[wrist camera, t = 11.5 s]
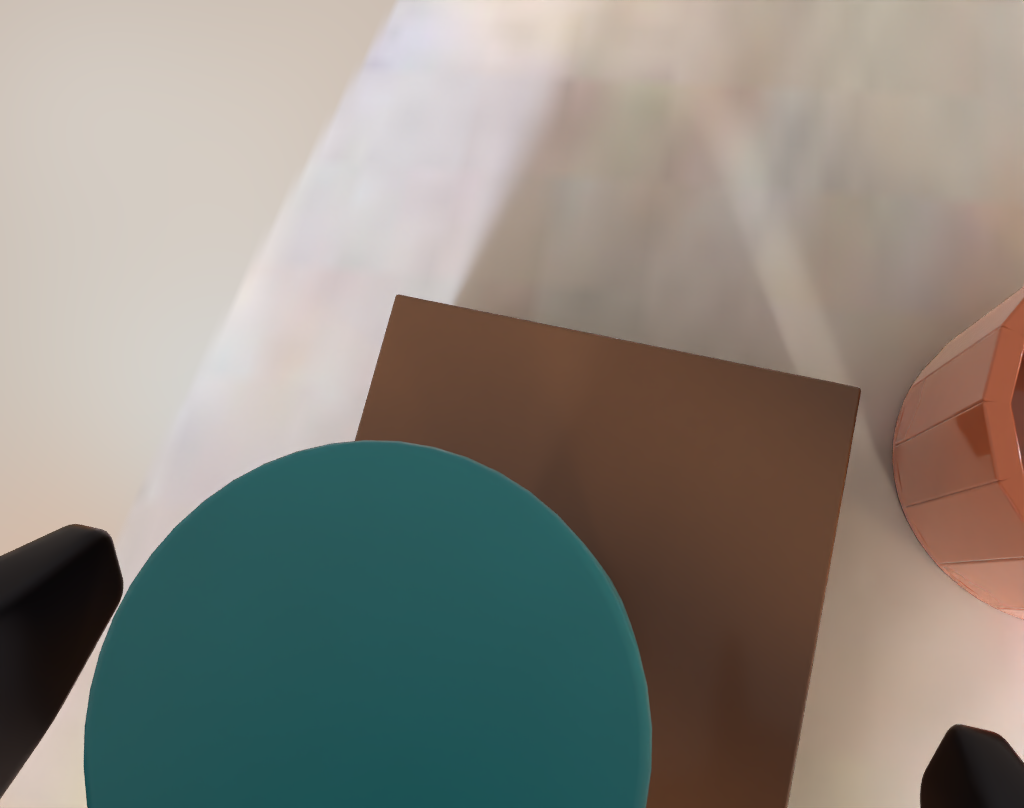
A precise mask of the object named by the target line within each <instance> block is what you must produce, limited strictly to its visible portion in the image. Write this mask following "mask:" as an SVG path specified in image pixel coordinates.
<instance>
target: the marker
mask: <svg viewBox="0 0 1024 808" xmlns="http://www.w3.org/2000/svg"><path fill="white" fill-rule="evenodd" d="M651 762H652V723H651V714H650V705H649V696H648V686H647V682H646V678H645V674H644V670H643V665H642V661H641V657H640V653H639V649H638V645H637V642H636V639H635V635H634V632H633V629H632V626H631V623H630V620H629V618H628V615H627V612H626V610H625V607H624V604H623V602H622V600H621V598H620V596H619V594H618V592H617V590H616V588H615V586H614V584H613V583H612V581H611V579H610V578H609V576H608V575H607V573H606V572H605V570H604V569H603V568H602V566H601V565H600V563H599V562H598V561H597V559H596V558H595V557H594V555H593V554H592V553H591V552H590V550H589V549H588V548H587V547H586V545H585V544H584V543H583V542H582V541H581V540H580V539H579V537H578V536H577V535H576V534H575V533H574V532H573V531H572V530H571V529H570V528H569V527H568V525H567V524H566V523H565V522H564V521H563V520H562V519H561V518H560V517H559V516H558V515H557V514H556V513H555V512H554V511H552V510H551V509H550V508H549V507H548V506H547V505H545V504H544V503H543V502H542V501H541V500H539V499H538V498H537V497H536V496H535V495H533V494H532V493H531V492H530V491H528V490H527V489H525V488H524V487H522V486H520V485H519V484H517V483H516V482H514V481H512V480H511V479H509V478H508V477H506V476H505V475H503V474H501V473H500V472H498V471H496V470H494V469H491V468H489V467H487V466H485V465H483V464H481V463H478V462H476V461H474V460H472V459H470V458H468V457H465V456H461V455H458V454H455V453H452V452H448V451H445V450H442V449H439V448H435V447H431V446H425V445H419V444H413V443H407V442H401V441H374V440H362V441H352V442H342V443H333V444H327V445H323V446H319V447H314V448H310V449H306V450H302V451H298V452H295V453H292V454H289V455H287V456H284V457H281V458H279V459H276V460H274V461H271V462H268V463H266V464H263V465H261V466H260V467H258V468H256V469H254V470H252V471H250V472H248V473H246V474H245V475H243V476H241V477H239V478H237V479H235V480H233V481H232V482H230V483H229V484H228V485H226V486H225V487H223V488H222V489H220V490H219V491H218V492H216V493H215V494H213V495H212V496H210V497H209V498H208V499H206V500H205V501H204V502H202V503H201V504H200V505H199V506H198V507H197V508H196V509H195V510H194V511H192V512H191V513H190V514H189V515H188V516H187V517H186V518H185V519H184V520H182V521H181V522H180V523H179V524H178V525H177V526H176V527H175V528H174V529H173V530H172V531H171V533H170V534H169V535H168V536H167V537H166V538H165V539H164V541H163V542H162V543H161V544H160V545H159V546H158V547H157V549H156V550H155V551H154V552H153V553H152V554H151V556H150V557H149V559H148V560H147V562H146V563H145V565H144V566H143V567H142V569H141V570H140V572H139V573H138V575H137V576H136V578H135V579H134V581H133V582H132V584H131V585H130V587H129V589H128V591H127V593H126V595H125V597H124V598H123V600H122V602H121V604H120V606H119V608H118V610H117V612H116V614H115V616H114V618H113V620H112V623H111V625H110V628H109V630H108V633H107V636H106V638H105V641H104V643H103V646H102V648H101V651H100V654H99V658H98V662H97V665H96V669H95V673H94V677H93V681H92V684H91V688H90V695H89V702H88V708H87V715H86V722H85V737H84V775H85V787H86V798H87V807H88V808H646V804H647V797H648V790H649V783H650V776H651Z"/></svg>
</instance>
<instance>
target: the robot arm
mask: <svg viewBox="0 0 1024 808" xmlns="http://www.w3.org/2000/svg"><path fill="white" fill-rule="evenodd" d="M122 593H123V577H122V574H121V570H120V566H119V562H118V559H117V555H116V551H115V548H114V544H113V540H112V538H111V536H110V535H109V534H108V533H107V532H106V531H104V530H102V529H97V528H93V527H89V526H84V525H78V524H72V525H68V526H65V527H62V528H60V529H58V530H56V531H54V532H52V533H49V534H47V535H45V536H43V537H41V538H39V539H37V540H34V541H32V542H30V543H28V544H26V545H23V546H21V547H19V548H17V549H15V550H13V551H11V552H8V553H6V554H4V555H2V556H0V799H1V797H2V796H3V794H4V793H5V791H6V790H7V789H8V787H9V786H10V784H11V783H12V781H13V780H14V778H15V777H16V775H17V774H18V773H19V771H20V770H21V768H22V767H23V765H24V764H25V762H26V761H27V760H28V758H29V757H30V755H31V754H32V752H33V751H34V749H35V748H36V746H37V745H38V744H39V742H40V741H41V739H42V737H43V736H44V734H45V733H46V731H47V730H48V728H49V727H50V725H51V724H52V722H53V721H54V719H55V717H56V716H57V714H58V712H59V710H60V709H61V707H62V705H63V704H64V702H65V700H66V698H67V697H68V695H69V693H70V691H71V689H72V688H73V686H74V684H75V682H76V680H77V679H78V677H79V675H80V673H81V671H82V670H83V668H84V666H85V664H86V662H87V660H88V659H89V657H90V655H91V653H92V651H93V650H94V648H95V646H96V644H97V642H98V641H99V639H100V637H101V635H102V633H103V632H104V630H105V628H106V626H107V624H108V623H109V621H110V619H111V617H112V615H113V614H114V612H115V610H116V608H117V606H118V604H119V602H120V600H121V597H122ZM920 807H921V808H1024V762H1023V761H1022V760H1021V759H1020V757H1019V756H1018V755H1017V753H1016V752H1015V751H1014V750H1013V748H1012V747H1011V746H1010V744H1009V743H1008V742H1007V741H1006V740H1005V739H1004V738H1003V737H1002V736H1000V735H999V734H997V733H995V732H992V731H988V730H984V729H979V728H975V727H970V726H966V725H962V724H956V725H954V726H952V727H951V728H949V730H948V731H947V732H946V734H945V736H944V738H943V739H942V741H941V743H940V745H939V747H938V748H937V750H936V752H935V754H934V756H933V757H932V759H931V761H930V763H929V765H928V766H927V768H926V770H925V772H924V775H923V778H922V783H921V790H920Z"/></svg>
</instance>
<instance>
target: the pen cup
mask: <svg viewBox="0 0 1024 808" xmlns="http://www.w3.org/2000/svg"><path fill="white" fill-rule="evenodd" d="M892 460H893V471H894V480H895V484H896V489H897V493H898V497H899V500H900V503H901V506H902V508H903V511H904V514H905V516H906V519H907V521H908V523H909V525H910V526H911V528H912V530H913V532H914V534H915V536H916V538H917V539H918V541H919V542H920V543H921V545H922V546H923V548H924V549H925V551H926V552H927V553H928V555H929V556H930V557H931V558H932V559H933V560H934V562H935V563H936V564H937V565H938V566H939V567H940V568H941V569H942V571H943V572H944V573H946V574H947V575H948V576H949V577H950V578H951V579H952V580H953V581H955V582H956V583H957V584H958V585H959V586H960V587H962V588H963V589H965V590H966V591H967V592H969V593H970V594H972V595H973V596H975V597H976V598H978V599H979V600H981V601H983V602H985V603H986V604H988V605H990V606H992V607H994V608H996V609H998V610H1000V611H1002V612H1005V613H1007V614H1010V615H1012V616H1015V617H1017V618H1020V619H1023V620H1024V287H1022V288H1021V289H1020V290H1018V291H1017V292H1016V293H1014V294H1013V295H1012V296H1010V297H1009V298H1007V299H1006V300H1005V301H1003V302H1002V303H1001V304H999V305H998V306H997V307H995V308H994V309H993V310H991V311H990V312H989V313H987V314H986V315H985V316H983V317H982V318H981V319H979V320H978V321H977V322H975V323H974V324H973V325H971V326H970V327H969V328H967V329H966V330H965V331H963V332H962V333H961V334H959V335H958V336H957V337H955V338H954V339H953V340H951V341H950V342H949V343H947V344H946V345H945V347H944V348H943V349H942V350H941V351H940V353H939V354H938V355H936V356H935V357H934V359H933V360H932V361H931V362H930V363H929V364H928V365H927V366H926V367H925V368H924V369H923V370H922V372H921V373H920V374H919V376H918V377H917V379H916V380H915V381H914V383H913V384H912V386H911V388H910V390H909V392H908V394H907V395H906V397H905V399H904V401H903V404H902V407H901V410H900V413H899V415H898V418H897V422H896V428H895V433H894V438H893V456H892Z"/></svg>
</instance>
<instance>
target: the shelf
mask: <svg viewBox="0 0 1024 808" xmlns="http://www.w3.org/2000/svg"><path fill="white" fill-rule="evenodd" d="M860 394H861V389H860V388H858V387H854V386H849V385H844V384H839V383H834V382H829V381H824V380H819V379H815V378H810V377H805V376H800V375H795V374H790V373H785V372H780V371H775V370H770V369H765V368H760V367H755V366H750V365H745V364H740V363H735V362H730V361H725V360H720V359H715V358H711V357H706V356H701V355H696V354H691V353H686V352H681V351H676V350H671V349H666V348H661V347H656V346H651V345H646V344H641V343H636V342H631V341H626V340H621V339H616V338H612V337H607V336H602V335H597V334H592V333H587V332H582V331H577V330H572V329H567V328H562V327H557V326H552V325H547V324H542V323H537V322H532V321H527V320H522V319H517V318H512V317H508V316H503V315H498V314H493V313H488V312H483V311H478V310H473V309H468V308H463V307H458V306H453V305H448V304H443V303H438V302H433V301H428V300H423V299H418V298H413V297H408V296H404V295H396V297H395V301H394V304H393V308H392V311H391V315H390V318H389V322H388V325H387V329H386V332H385V336H384V340H383V343H382V347H381V350H380V354H379V357H378V361H377V364H376V368H375V371H374V375H373V378H372V382H371V385H370V389H369V393H368V396H367V400H366V403H365V407H364V410H363V414H362V417H361V421H360V424H359V428H358V431H357V435H356V438H355V441H362V440H374V441H401V442H407V443H413V444H419V445H425V446H431V447H435V448H439V449H442V450H445V451H448V452H452V453H455V454H458V455H461V456H465V457H468V458H470V459H472V460H474V461H476V462H478V463H481V464H483V465H485V466H487V467H489V468H491V469H494V470H496V471H498V472H500V473H501V474H503V475H505V476H506V477H508V478H509V479H511V480H512V481H514V482H516V483H517V484H519V485H520V486H522V487H524V488H525V489H527V490H528V491H530V492H531V493H532V494H533V495H535V496H536V497H537V498H538V499H539V500H541V501H542V502H543V503H544V504H545V505H547V506H548V507H549V508H550V509H551V510H552V511H554V512H555V513H556V514H557V515H558V516H559V517H560V518H561V519H562V520H563V521H564V522H565V523H566V524H567V525H568V527H569V528H570V529H571V530H572V531H573V532H574V533H575V534H576V535H577V536H578V537H579V539H580V540H581V541H582V542H583V543H584V544H585V545H586V547H587V548H588V549H589V550H590V552H591V553H592V554H593V555H594V557H595V558H596V559H597V561H598V562H599V563H600V565H601V566H602V568H603V569H604V570H605V572H606V573H607V575H608V576H609V578H610V579H611V581H612V583H613V584H614V586H615V588H616V590H617V592H618V594H619V596H620V598H621V600H622V602H623V604H624V607H625V610H626V612H627V615H628V618H629V620H630V623H631V626H632V629H633V632H634V635H635V639H636V642H637V645H638V649H639V653H640V657H641V661H642V665H643V670H644V674H645V678H646V682H647V686H648V696H649V705H650V714H651V723H652V762H651V776H650V783H649V790H648V797H647V804H646V808H787V807H788V801H789V796H790V790H791V784H792V779H793V773H794V767H795V762H796V756H797V750H798V745H799V739H800V733H801V728H802V722H803V717H804V711H805V705H806V700H807V694H808V688H809V683H810V677H811V671H812V666H813V660H814V654H815V649H816V643H817V637H818V632H819V626H820V620H821V615H822V609H823V603H824V598H825V592H826V586H827V581H828V575H829V569H830V564H831V558H832V552H833V547H834V541H835V535H836V530H837V524H838V518H839V513H840V507H841V501H842V496H843V490H844V484H845V479H846V473H847V467H848V462H849V456H850V450H851V445H852V439H853V433H854V428H855V422H856V416H857V411H858V405H859V399H860Z"/></svg>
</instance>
